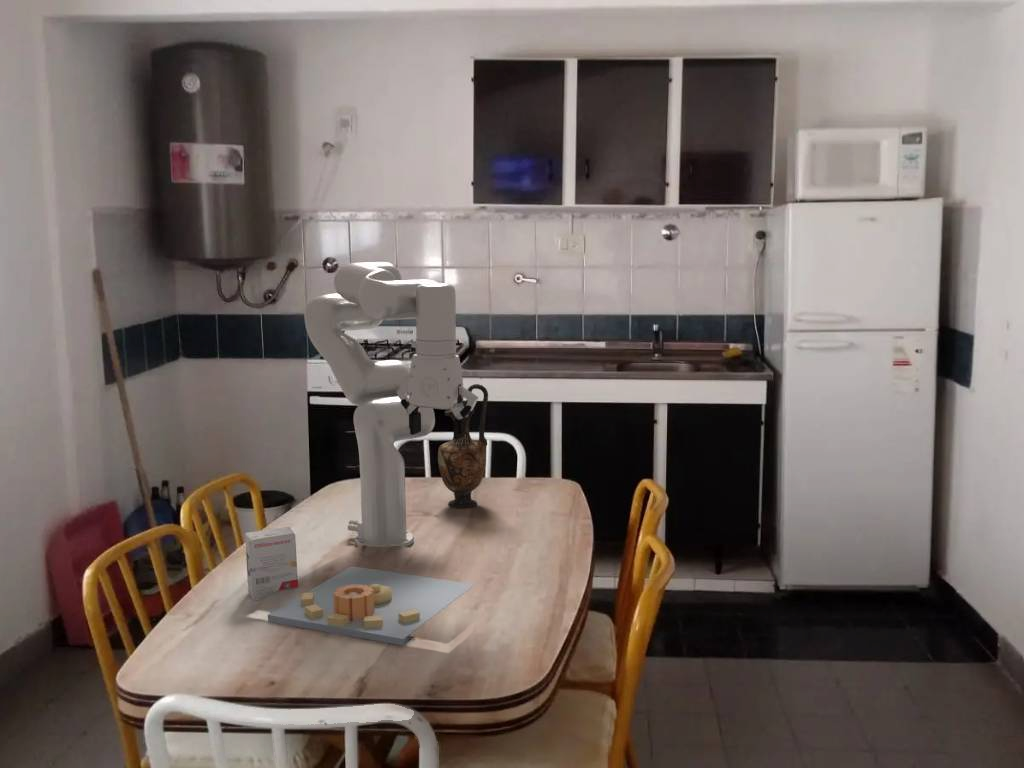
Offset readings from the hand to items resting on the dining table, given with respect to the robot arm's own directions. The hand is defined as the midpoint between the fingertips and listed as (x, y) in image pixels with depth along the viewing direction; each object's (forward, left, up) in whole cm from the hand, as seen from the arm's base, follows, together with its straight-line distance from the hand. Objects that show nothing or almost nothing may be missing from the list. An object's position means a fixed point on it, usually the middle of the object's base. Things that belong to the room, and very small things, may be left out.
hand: (437, 435), depth 195 cm
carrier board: (-3, -20, -28) cm, 34 cm away
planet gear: (-2, -28, -26) cm, 38 cm away
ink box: (-24, -22, -28) cm, 43 cm away
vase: (-17, +45, -28) cm, 55 cm away
